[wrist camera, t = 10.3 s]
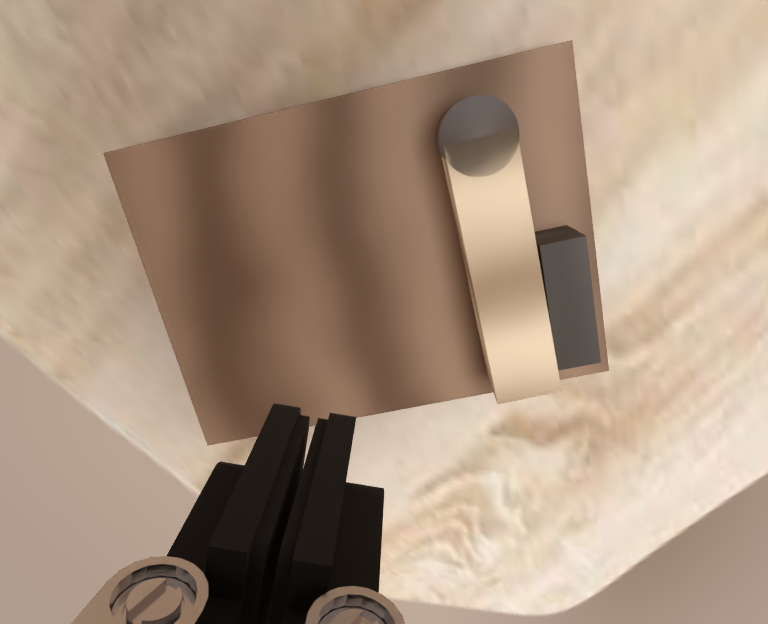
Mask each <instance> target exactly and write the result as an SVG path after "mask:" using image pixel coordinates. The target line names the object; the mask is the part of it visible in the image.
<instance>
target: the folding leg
mask: <svg viewBox="0 0 768 624" xmlns="http://www.w3.org/2000/svg"><path fill="white" fill-rule="evenodd" d="M436 144H437V148H438V151H439V153H440V155H441V157H442V162H443V167H444V171H445V176H446V181H447V186H448V190H449V195H450V200H451V204H452V209H453V214H454V218H455V223H456V228H457V233H458V237H459V242H460V247H461V251H462V256H463V261H464V266H465V270H466V275H467V280H468V284H469V289H470V294H471V298H472V303H473V308H474V313H475V317H476V322H477V327H478V331H479V336H480V341H481V345H482V350H483V355H484V360H485V364H486V369H487V374H488V378H489V381H490V384H491V387H492V389H493V392H494V395H495V398H496V401H497V403H498V404H502V403H507V402H511V401H516V400H521V399H526V398H531V397H535V396H540V395H545V394H550V393H554V392H559V391H562V390H561V384H560V378H559V372H558V366H557V361H556V355H555V349H554V343H553V337H552V331H551V326H550V320H549V314H548V308H547V302H546V297H545V291H544V285H543V279H542V273H541V267H540V262H539V256H538V250H537V244H536V238H535V233H534V227H533V221H532V215H531V209H530V203H529V198H528V192H527V186H526V180H525V174H524V169H523V163H522V157H521V151H520V145H519V125H518V121H517V119H516V116H515V114H514V113H513V111H512V110H511V108H510V107H509V106H508V105H507V104H506V103H504V102H503V101H502V100H500V99H498V98H495V97H493V96H489V95H475V96H471V97H468V98H466V99H464V100H462V101H460V102H458V103H456V104H454V105H453V106H451V107H450V108H449V109H448V110H447V111H446V112H445V113H444V114H443V116H442V117H441V119H440V121H439V124H438V126H437V131H436Z"/></svg>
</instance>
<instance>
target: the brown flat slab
mask: <svg viewBox="0 0 768 624" xmlns="http://www.w3.org/2000/svg"><path fill="white" fill-rule="evenodd" d="M475 95H489V96H493V97H495V98H498V99H500V100H502V101H503V102H504V103H506V104H507V105H508V106H509V107H510V108H511V110H512V111H513V113H514V114H515V116H516V119H517V121H518V125H519V145H520V151H521V157H522V163H523V169H524V174H525V180H526V186H527V192H528V198H529V203H530V209H531V215H532V221H533V227H534V233H535V238H536V244H537V250H538V256H539V262H540V267H541V273H542V279H543V285H544V291H545V297H546V302H547V308H548V314H549V320H550V326H551V331H552V337H553V343H554V349H555V355H556V361H557V366H558V372H559V378H560V380H561V379H567V378H572V377H577V376H583V375H588V374H593V373H599V372H604V371H609V367H608V358H607V349H606V340H605V331H604V322H603V313H602V304H601V295H600V286H599V277H598V268H597V259H596V250H595V242H594V233H593V224H592V215H591V206H590V197H589V188H588V179H587V170H586V161H585V152H584V143H583V134H582V125H581V116H580V107H579V98H578V89H577V80H576V71H575V63H574V54H573V45H572V40H571V41H567V42H562V43H558V44H554V45H550V46H546V47H542V48H538V49H533V50H529V51H525V52H521V53H517V54H513V55H509V56H504V57H500V58H496V59H492V60H488V61H484V62H480V63H475V64H471V65H467V66H463V67H459V68H455V69H450V70H446V71H442V72H438V73H434V74H430V75H426V76H421V77H417V78H413V79H409V80H405V81H401V82H397V83H392V84H388V85H384V86H380V87H376V88H372V89H368V90H363V91H359V92H355V93H351V94H347V95H343V96H339V97H334V98H330V99H326V100H322V101H318V102H314V103H310V104H305V105H301V106H297V107H293V108H289V109H285V110H281V111H276V112H272V113H268V114H264V115H260V116H256V117H251V118H247V119H243V120H239V121H235V122H231V123H227V124H222V125H218V126H214V127H210V128H206V129H202V130H198V131H193V132H189V133H185V134H181V135H177V136H173V137H169V138H164V139H160V140H156V141H152V142H148V143H144V144H140V145H135V146H131V147H127V148H123V149H119V150H115V151H111V152H106V153H104V156H105V159H106V162H107V165H108V167H109V170H110V173H111V176H112V179H113V181H114V184H115V187H116V190H117V193H118V195H119V198H120V201H121V204H122V207H123V210H124V212H125V215H126V218H127V221H128V224H129V226H130V229H131V232H132V235H133V238H134V240H135V243H136V246H137V249H138V252H139V254H140V257H141V260H142V263H143V266H144V268H145V271H146V274H147V277H148V280H149V282H150V285H151V288H152V291H153V294H154V296H155V299H156V302H157V305H158V308H159V310H160V313H161V316H162V319H163V322H164V324H165V327H166V330H167V333H168V336H169V338H170V341H171V344H172V347H173V350H174V352H175V355H176V358H177V361H178V364H179V366H180V369H181V372H182V375H183V378H184V380H185V383H186V386H187V389H188V392H189V394H190V397H191V400H192V403H193V406H194V409H195V411H196V414H197V417H198V420H199V423H200V425H201V428H202V431H203V434H204V437H205V439H206V442H207V445H213V444H218V443H223V442H229V441H234V440H239V439H245V438H250V437H255V436H259V434H260V431H261V429H262V427H263V425H264V423H265V421H266V418H267V416H268V414H269V412H270V410H271V407H272V405H273V404H274V403H276V404H282V405H288V406H294V407H300V408H301V415H304V416H310V423H309V426H314V425H316V423H317V420H318V418H322V419H328V418H329V414H330V413H336V414H342V415H348V416H354V417H356V418H357V417H363V416H368V415H374V414H379V413H384V412H390V411H395V410H400V409H406V408H411V407H416V406H422V405H427V404H433V403H438V402H443V401H449V400H454V399H459V398H465V397H470V396H475V395H481V394H486V393H492V392H493V389H492V387H491V384H490V381H489V378H488V374H487V369H486V364H485V360H484V355H483V350H482V345H481V341H480V336H479V331H478V327H477V322H476V317H475V313H474V308H473V303H472V298H471V294H470V289H469V284H468V280H467V275H466V270H465V266H464V261H463V256H462V251H461V247H460V242H459V237H458V233H457V228H456V223H455V218H454V214H453V209H452V204H451V200H450V195H449V190H448V186H447V181H446V176H445V171H444V167H443V162H442V157H441V155H440V153H439V151H438V148H437V144H436V131H437V126H438V124H439V121H440V119H441V117H442V116H443V114H444V113H445V112H446V111H447V110H448V109H449V108H450V107H451V106H453V105H454V104H456V103H458V102H460V101H462V100H464V99H466V98H468V97H471V96H475Z"/></svg>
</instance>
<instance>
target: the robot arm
mask: <svg viewBox="0 0 768 624" xmlns="http://www.w3.org/2000/svg"><path fill="white" fill-rule="evenodd" d="M355 422H356V417H354V416H348V415H342V414H336V413H330V414H329V418H328V419H322V418H318V420H317V423H316V427H315V430H314V434H313V437H312V441H311V444H310V447H309V451H308V454H307V458H306V461H305V465H304V458H305V451H306V444H307V437H308V430H309V423H310V416H304V415H301V408H300V407H294V406H288V405H282V404H276V403H274V404H273V405H272V407H271V410H270V412H269V414H268V416H267V418H266V421H265V423H264V425H263V427H262V429H261V431H260V434H259V436H258V438H257V440H256V442H255V444H254V447H253V449H252V451H251V453H250V455H249V457H248V460H247V462H246V464H245V466H244V465H238V464H231V463H225V462H219V463H217V465H216V466H215V468H214V470H213V471H212V473H211V475H210V477H209V479H208V481H207V483H206V484H205V486H204V488H203V490H202V492H201V494H200V495H199V497H198V499H197V501H196V503H195V505H194V507H193V508H192V510H191V512H190V514H189V516H188V518H187V519H186V521H185V523H184V525H183V527H182V529H181V531H180V532H179V534H178V536H177V538H176V540H175V541H174V543H173V545H172V547H171V549H170V551H169V552H168V554H167V556H163V557H150V558H147V559H144V560H140V561H137V562H134V563H132V564H130V565H128V566H127V567H125V568H123V569H121V570H119V571H118V572H117V573H116V574H115V575H114V576H113V577H112V578H110V579H109V580H108V581H107V582H106V584H105V585H104V586H103V587H102V588H101V589H100V590H99V592H98V593H97V594H96V595H95V596H94V597H93V599H92V600H91V601H90V602H89V603H88V604H87V606H86V607H85V608H84V609H83V610H82V612H81V613H80V614H79V615H78V616H77V617H76V618H75V620H74V621H73V622H72V623H71V624H405V622H404V619H403V616H402V614H401V613H400V612H399V610H398V609H397V607H396V606H395V605H394V603H392V602H391V601H390V600H388V599H387V598H386V597H385V596H383V595H382V594H380V593H379V576H380V558H381V540H382V522H383V504H384V488H378V487H372V486H366V485H360V484H354V483H347V482H346V477H347V471H348V465H349V458H350V452H351V446H352V440H353V434H354V428H355ZM303 465H304V468H303Z"/></svg>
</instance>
